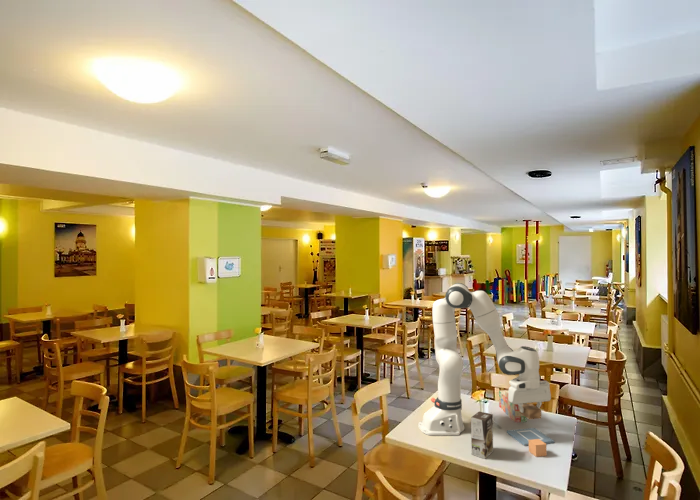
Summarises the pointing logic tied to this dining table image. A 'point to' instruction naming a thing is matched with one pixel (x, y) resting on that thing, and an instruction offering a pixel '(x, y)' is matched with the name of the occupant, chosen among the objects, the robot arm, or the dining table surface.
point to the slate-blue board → (529, 436)
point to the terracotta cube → (537, 447)
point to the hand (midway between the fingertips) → (530, 411)
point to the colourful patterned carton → (510, 407)
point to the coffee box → (482, 434)
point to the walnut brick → (531, 411)
